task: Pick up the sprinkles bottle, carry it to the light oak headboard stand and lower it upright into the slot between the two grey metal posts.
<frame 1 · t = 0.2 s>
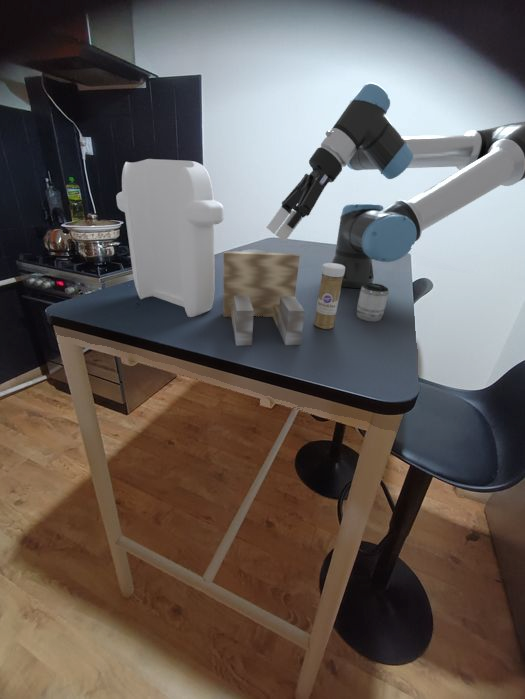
hand: (274, 234, 80), 16 cm above the table, tool tilted 35°, fingers open, 13 cm apart
canned food: (253, 293, 87), on the table
sprinkles bottle: (323, 326, 71), on the table
white contoured slab: (178, 303, 78), on the table
headboard stand: (265, 335, 64), on the table
camera lens: (368, 317, 77), on the table
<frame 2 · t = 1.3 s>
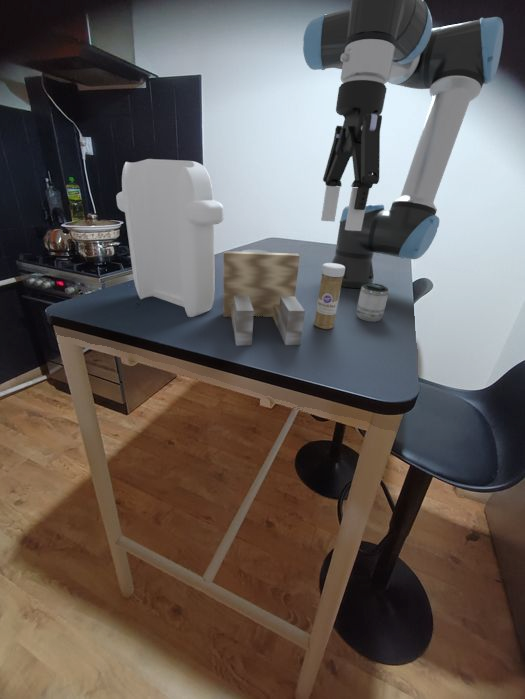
hand: (339, 225, 61), 21 cm above the table, tool pointing down, fingers open, 13 cm apart
nothing on the table moved.
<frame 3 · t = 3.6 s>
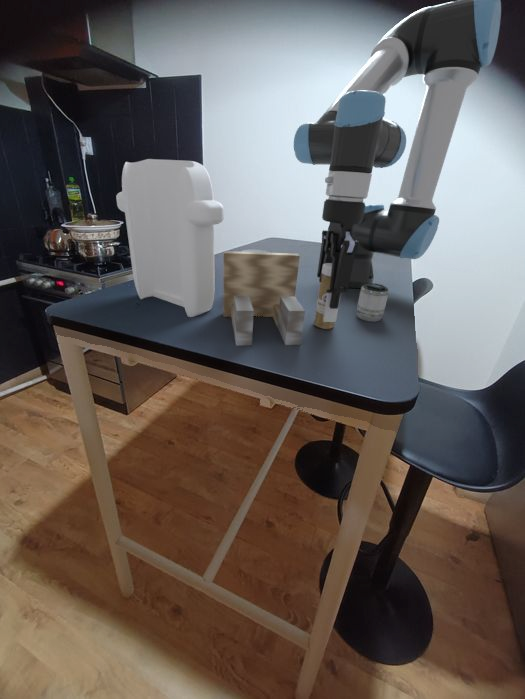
hand: (325, 316, 69), 2 cm above the table, tool pointing down, fingers closed on sprinkles bottle, 4 cm apart
sprinkles bottle: (323, 326, 70), on the table, touching gripper
everything else where it was.
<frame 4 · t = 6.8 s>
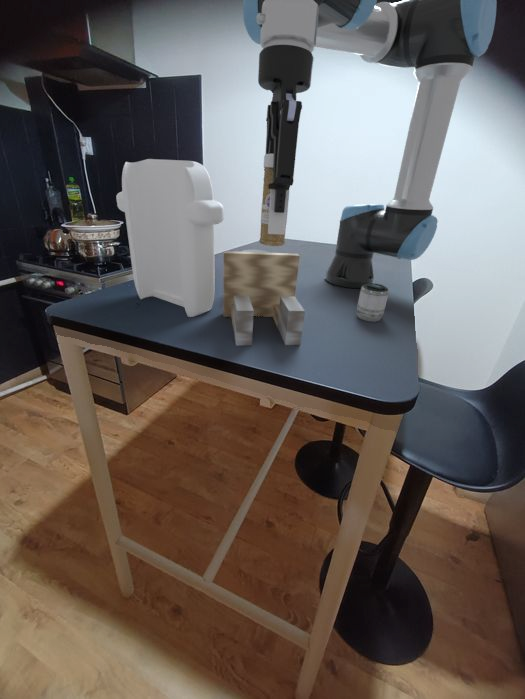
hand: (273, 231, 54), 20 cm above the table, tool pointing down, fingers closed on sprinkles bottle, 4 cm apart
sprinkles bottle: (272, 245, 55), point 18 cm above the table, touching gripper
everything else where it was.
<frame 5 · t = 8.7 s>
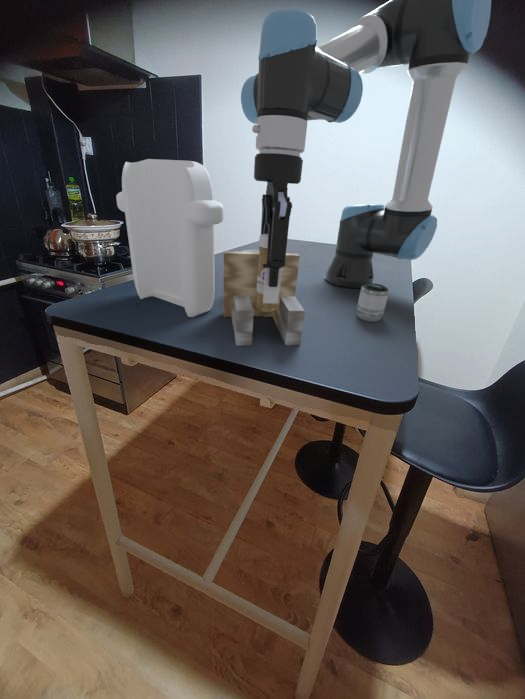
hand: (267, 297, 60), 8 cm above the table, tool pointing down, fingers closed on sprinkles bottle, 4 cm apart
sprinkles bottle: (266, 309, 61), point 6 cm above the table, touching gripper
everything else where it was.
when the fingers open (4 cm above the table, at t = 9.8 s): sprinkles bottle drops 2 cm, resting in headboard stand.
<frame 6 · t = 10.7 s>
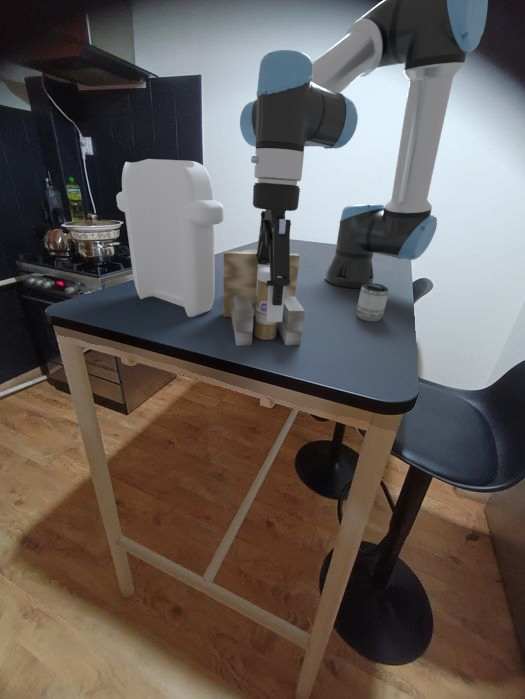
hand: (267, 307, 61), 6 cm above the table, tool pointing down, fingers open, 13 cm apart
sprinkles bottle: (265, 336, 64), resting in headboard stand
everything else where it was.
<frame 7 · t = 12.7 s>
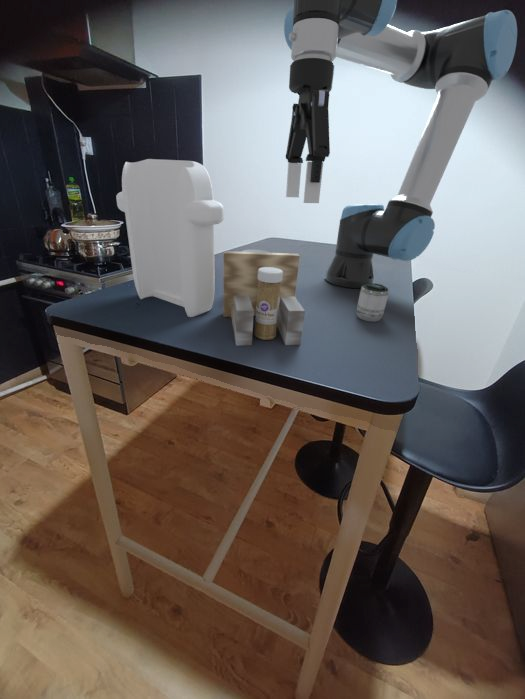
hand: (300, 200, 64), 25 cm above the table, tool pointing down, fingers open, 13 cm apart
nothing on the table moved.
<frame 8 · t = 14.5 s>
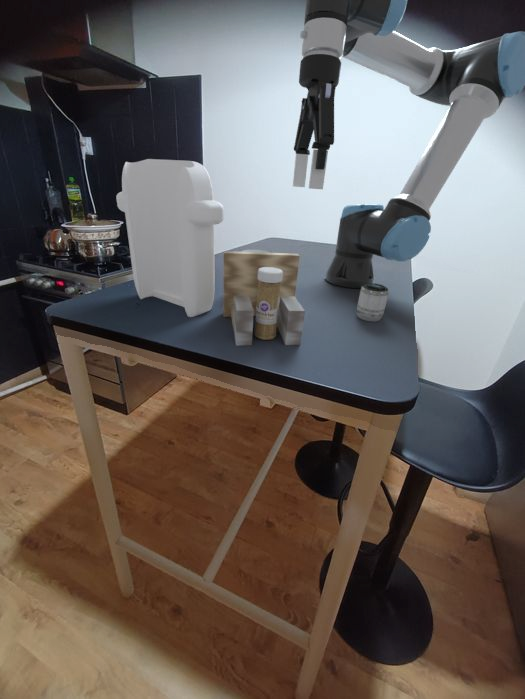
hand: (306, 188, 68), 27 cm above the table, tool pointing down, fingers open, 13 cm apart
nothing on the table moved.
at the end: sprinkles bottle inside the target area on the headboard stand (0.1 cm from its centre), point 0.0 cm above the headboard stand's base; sprinkles bottle tilted 0°; the gripper is holding nothing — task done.
